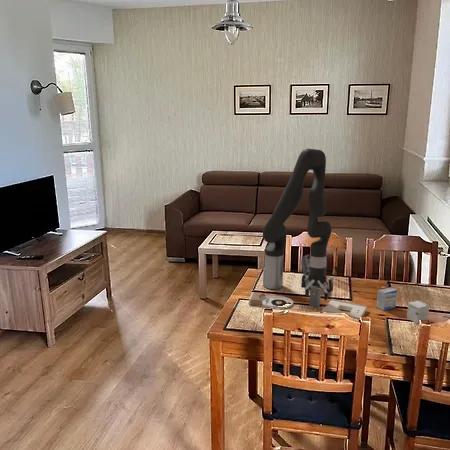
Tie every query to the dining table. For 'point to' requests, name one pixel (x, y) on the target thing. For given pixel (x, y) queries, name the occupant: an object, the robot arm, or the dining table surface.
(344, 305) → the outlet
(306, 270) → the muzzle brake
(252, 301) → the record player
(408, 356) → the dining table surface
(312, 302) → the charger
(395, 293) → the medicine box
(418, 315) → the skincare box
